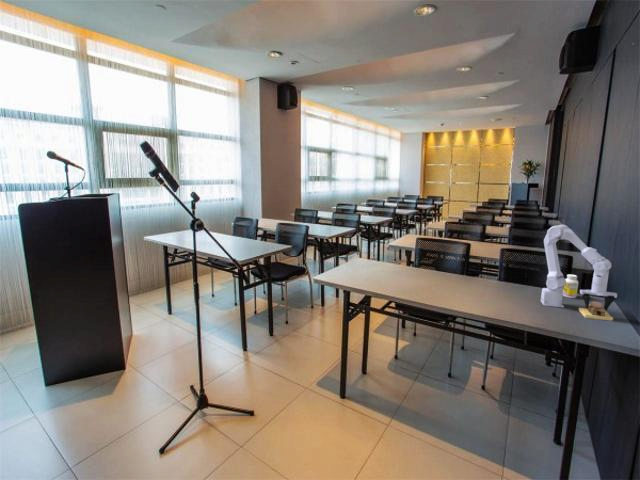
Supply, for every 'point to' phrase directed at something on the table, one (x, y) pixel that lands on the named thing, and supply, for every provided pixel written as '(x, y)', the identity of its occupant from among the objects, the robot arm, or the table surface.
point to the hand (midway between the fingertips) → (595, 309)
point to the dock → (597, 316)
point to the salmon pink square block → (596, 304)
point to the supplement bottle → (571, 286)
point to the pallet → (596, 310)
